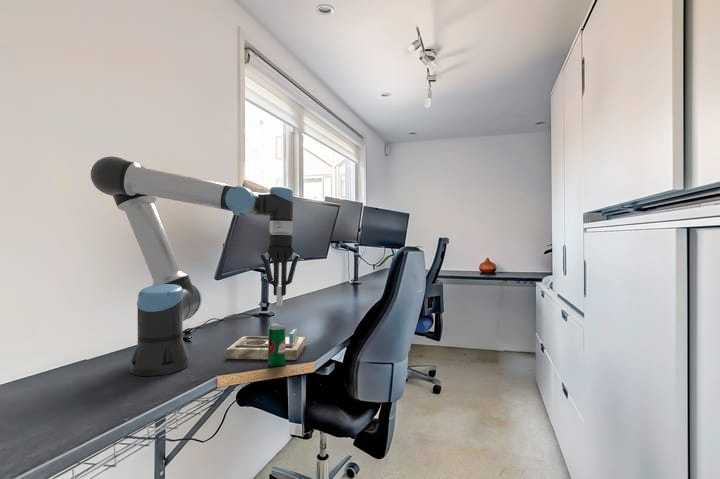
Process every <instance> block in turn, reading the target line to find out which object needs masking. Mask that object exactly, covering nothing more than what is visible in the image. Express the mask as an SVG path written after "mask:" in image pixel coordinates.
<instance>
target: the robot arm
mask: <svg viewBox="0 0 720 479" xmlns="http://www.w3.org/2000/svg"><path fill="white" fill-rule="evenodd" d="M90 179H91V182H92V184H93V186H94V187H95V188H96V189H97V190H98V191H100V192H101V193H103V194H105V195H108V196H112V198H113V199H114V202H115V204H116V206H117V209H118V210H121V211H123V212H124V213H125V214H126V217H127V219H128V222H129V224H130V227H131V230H132V232H133V234H134V236H135V239H136V241H137V242H136V243H137V244H138V246H139V249H140V252H141V253H142V257H143V259H144V261H145V263H146V266H147V269H148V271H149V274H150V276H151V278H152V281H153V282H152V284H151V285H150V286H147V287H144V288H143V289H141V290H140V291H139V292H138V294H137V301H136V307H137V344H136V346H135V349H134V353H133V356H132V357H131V361H130V363H129V364H130V366H129V369H130V370H129V372H130V374H132V375H135V376H138V377H139V376H142V377H153V376H156V377H157V376H163V375H169V374H173V373H176V372H179V371H181V370H184V369H185V368H187V367H189V364H190V356H189V353H188V351H187V350H188V349H187V347H186V344H185V342H184V340H183V332H184V331H183V322H184V321H187V320H188V319H191V318H192V317H193V316H195V314H196V313H197V312H198V311H199V310H200V308H201V305H202V300H203V297H202V294H201V291H200V290H199V288H198V287H197V286H196V285H195V284H192V280H191V279H190V276H189V274H187V273H185V272H183V271H182V270H181V268H180V265H179V263H178V259H177V258H176V254H175V252H174V249H173V248H172V245H171V242H170V240H169V238H168V235H167V233H166V231H165V227H164V226H163V223H162V221H161V218H160V215H159V213H158V211H157V208H156V206H155V203H156V201H157V199H158V198H161V199H165V200H170V201H176V202H181V203H187V204H193V205H199V206H203V207H209V208H213V209H214V208H215V209H219V210H225V211H228V212H232V214H233V215H235V216H243V217H244V216H254V217H255V216H259V217H262V216H263V217H264V216H265V217H269V228H268V229H269V233H270V235H269V237H268V238H269V239H268V249H267V251H266V252H265V253H264V254H261V255H260V259H261V260H262V262H263V265H264V270H265V274H266V279H267V283H268V284H269V285H272V286H273V296H276V298H275V299H276V303H275V304H276V307H282V306H283V305H284V303H283V300H284V296H286V294H287V286H288V285H290V284H292V282H293V278H294V275H295V272H296V269H297V268H296V267H297V264H298V262H299V260H300V259H301V256H300V255H299V254H297V253H295V251H294V249H293V235H292V234H293V229H294V228H293V226H294V225H293V223H294V222H293V220H294V219H293V218H294V191H293V190H292V188H290V187H286V186H272V187H270V189H269V192H265V193H262V192H253V190H251V189H250V188H248V187H246V186H243V185H236V186H235V185H230V184H227V183H222V182H216V181H212V180H208V179H206V180H205V179H201V178H196V177H191V176H186V175H180V174H178V173H177V174H176V173H171V172H167V171H161V170H156V169H149V168H146V167H144V166H143V165H141V164H140V163H137V162H133V161H128V160H127V159H124V158H121V157H117V156H105V157H103V158H100V159H98V160H97V161H96V162H95V163H94V164H93V165H92V168H91V170H90ZM270 258H271V260H272V261H273V273H272V269H271V263H270V260H269V259H270ZM290 259H291V260H292V261H291V265H290V269H289V272H287V269H288V266H287V265H288V261H289V260H290ZM280 266H281V271H280ZM280 272H281V274H280ZM287 273H288V276H287ZM280 275H281V277H280ZM279 277H280V279H281V280H280V279H279ZM279 281H280V282H281V283H280V282H279Z"/></svg>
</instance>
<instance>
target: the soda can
mask: <svg viewBox="0 0 720 479" xmlns="http://www.w3.org/2000/svg"><path fill="white" fill-rule="evenodd" d="M267 337H268V359H267V363H268V366H269V367H272V368H273V367H274V368H278V367H279V368H280V367H283V366H284V365H285V364H286V360H285V344H286V337H287V336H286V327H285V324H284V323H283V322H282V323H281V322H274V323H270V324H269V327H268V330H267Z"/></svg>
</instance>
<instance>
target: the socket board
mask: <svg viewBox="0 0 720 479" xmlns="http://www.w3.org/2000/svg"><path fill="white" fill-rule="evenodd" d="M297 337H298V340H297V341H296V343H295V344H294V345H293V347H292V345H285V361H286V360H290V361H292V360H293V361H294V360H296V361H297V360H298V358H299V357H300V355H301V353H302V352H303V350H304V349H305V347H306V337H305V336H297ZM267 341H268V336H261V335H260V336H259V335H257V336H256V335H255V336H253V335H250V336H247V335H245V336H242V337H240V338H239V339H238V340H236V341H235V342H234V343H233V344H231V345H230V346H229V347H227V348H226V360H227V359H230V360H268V345H265V343H266V342H267Z"/></svg>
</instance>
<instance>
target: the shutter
mask: <svg viewBox="0 0 720 479" xmlns="http://www.w3.org/2000/svg"><path fill="white" fill-rule="evenodd" d="M298 337H299V336H298V329H297V328H293V329H292V330H291V331H290V332H289V334H288V336H286V344H285V345H292V347H293V345H294V344H295V343H296V341H297V340H298ZM265 345H268V341H267V342H266V343H265Z"/></svg>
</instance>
